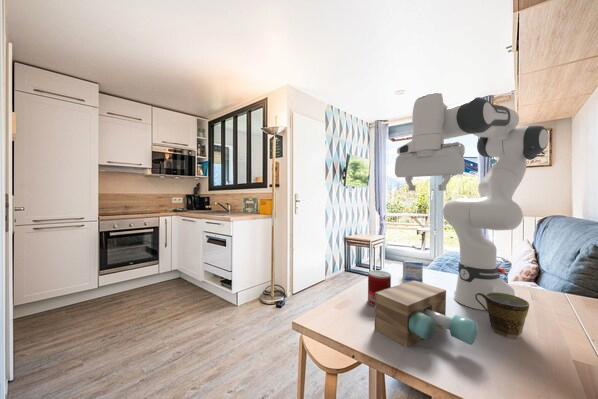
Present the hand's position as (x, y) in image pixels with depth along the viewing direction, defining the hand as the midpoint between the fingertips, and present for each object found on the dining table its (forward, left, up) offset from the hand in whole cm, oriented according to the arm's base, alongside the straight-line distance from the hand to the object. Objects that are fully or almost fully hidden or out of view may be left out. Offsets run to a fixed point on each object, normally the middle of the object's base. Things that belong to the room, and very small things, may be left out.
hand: (426, 190), depth 79 cm
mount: (+6, +4, -42) cm, 42 cm away
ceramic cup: (-19, +9, -42) cm, 47 cm away
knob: (+3, +11, -38) cm, 40 cm away
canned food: (+6, -16, -42) cm, 45 cm away
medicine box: (-24, -36, -42) cm, 60 cm away
